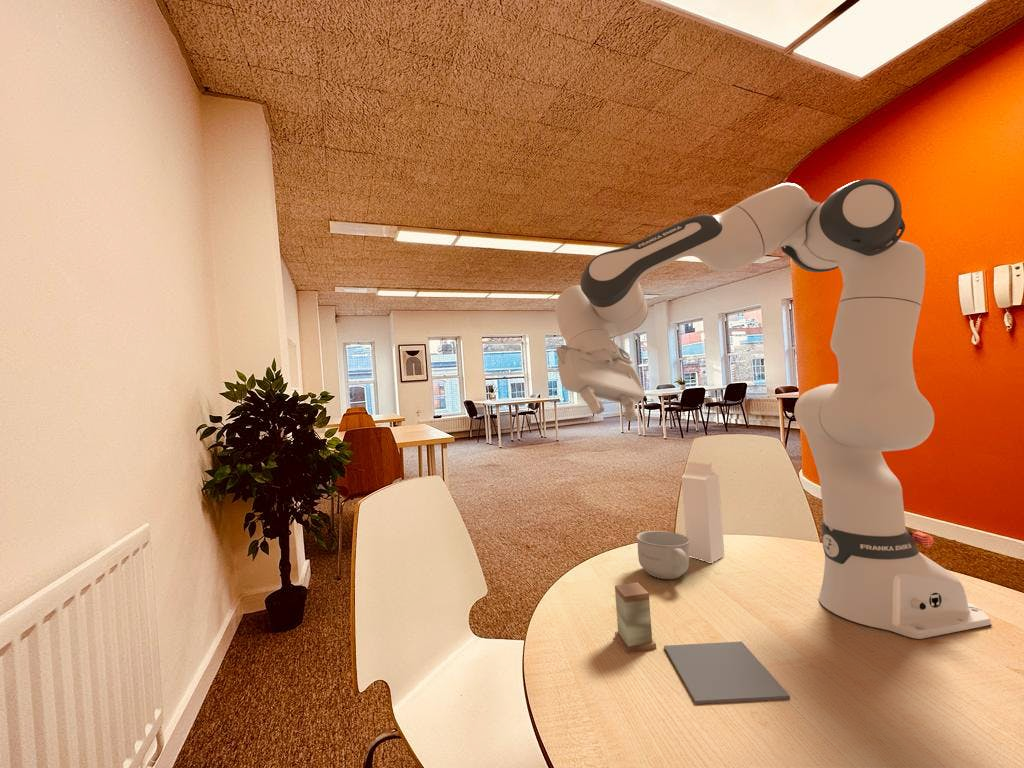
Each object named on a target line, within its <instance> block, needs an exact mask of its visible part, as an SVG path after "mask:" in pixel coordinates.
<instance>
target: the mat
mask: <svg viewBox="0 0 1024 768" xmlns="http://www.w3.org/2000/svg"><path fill="white" fill-rule="evenodd" d="M663 648H664V650H665V652H666V654H667V655H668V657H669V659H670V661H671V664H672V665H673V667H674V668H675V670H676V672H677V673H678V675H679V677H680V679H681V680H682V682H683V684H684V685H685V688H686V689H687V691H688V694H689V695H690V696H691V698H692V701H694V704H696V705H699V704H701V705H702V704H716V703H717V704H720V703H736V702H737V703H738V702H756V701H774V700H776V701H777V700H790V699H791V696H790V694H789V693H788V692H787V691H786V690H785V688H784V687H783V686H782V685H781V684H780V683H779V682H778V681H777V679H776V678H775V676H773V675H772V674H771V672H769V671H768V669H767V668H766V667H765V665H763V664H762V662H761V661H760V660H759V659H758V658H757V657H756V656H755V654H754V653H752V651H751V650H750V649H749V648H748V647H747V646H746V645H745V643H744V642H743V641H726V642H708V643H705V642H704V643H692V644H691V643H690V644H673V645H672V644H670V645H668V644H667V645H664V646H663Z"/></svg>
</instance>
